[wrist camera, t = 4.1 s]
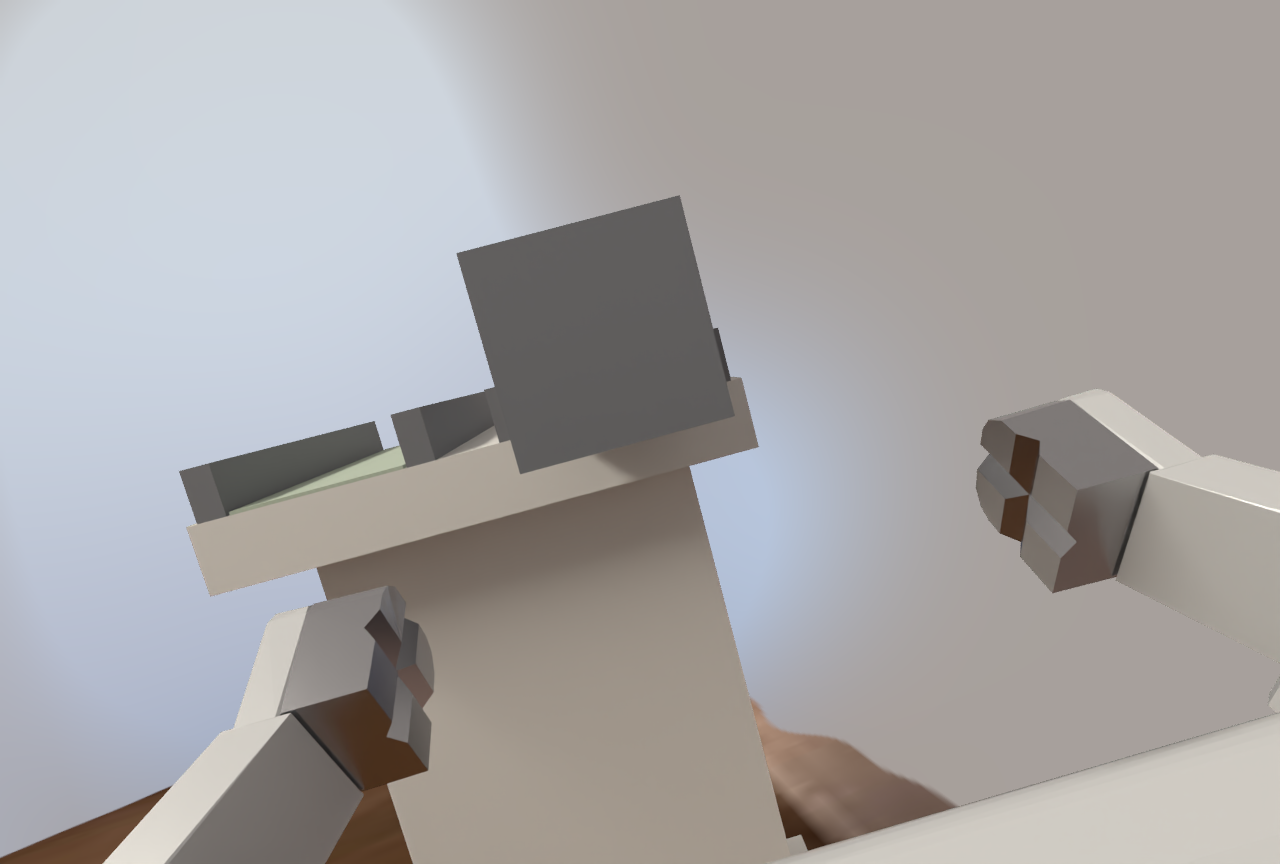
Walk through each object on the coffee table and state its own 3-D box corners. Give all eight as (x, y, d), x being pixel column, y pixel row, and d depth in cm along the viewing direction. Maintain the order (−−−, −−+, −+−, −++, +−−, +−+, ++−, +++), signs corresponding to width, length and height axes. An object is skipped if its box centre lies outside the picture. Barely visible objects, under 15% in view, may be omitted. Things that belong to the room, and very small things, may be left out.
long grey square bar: (520, 474, 11) (455, 253, 11) (570, 403, 31) (548, 324, 31) (734, 416, 11) (679, 195, 11) (648, 382, 31) (627, 303, 31)
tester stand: (460, 1319, 22) (146, 413, 19) (514, 946, 36) (340, 392, 32) (938, 1171, 22) (713, 263, 19) (807, 860, 36) (664, 305, 33)
